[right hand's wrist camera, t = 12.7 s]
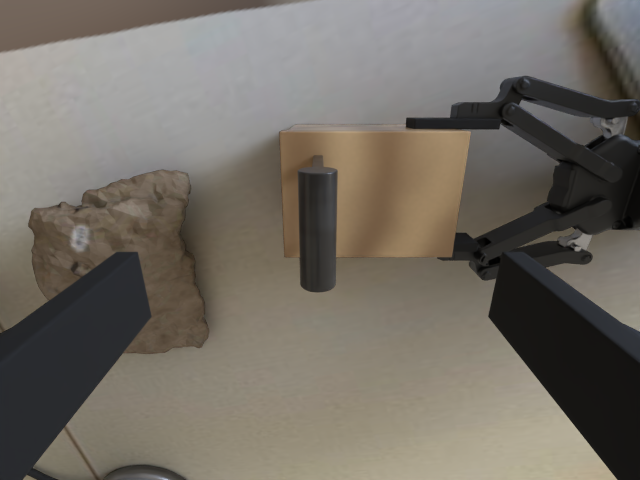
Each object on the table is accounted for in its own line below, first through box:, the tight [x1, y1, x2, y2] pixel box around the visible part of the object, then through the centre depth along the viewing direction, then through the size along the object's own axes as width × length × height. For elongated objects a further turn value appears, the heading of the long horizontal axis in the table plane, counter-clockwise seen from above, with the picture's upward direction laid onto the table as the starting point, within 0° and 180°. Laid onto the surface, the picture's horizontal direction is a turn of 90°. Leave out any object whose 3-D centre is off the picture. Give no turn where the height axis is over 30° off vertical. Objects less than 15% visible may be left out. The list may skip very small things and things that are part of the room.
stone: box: [28, 170, 209, 354], centre depth 35 cm, size 21×15×6 cm
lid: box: [279, 130, 471, 292], centre depth 22 cm, size 13×10×9 cm
